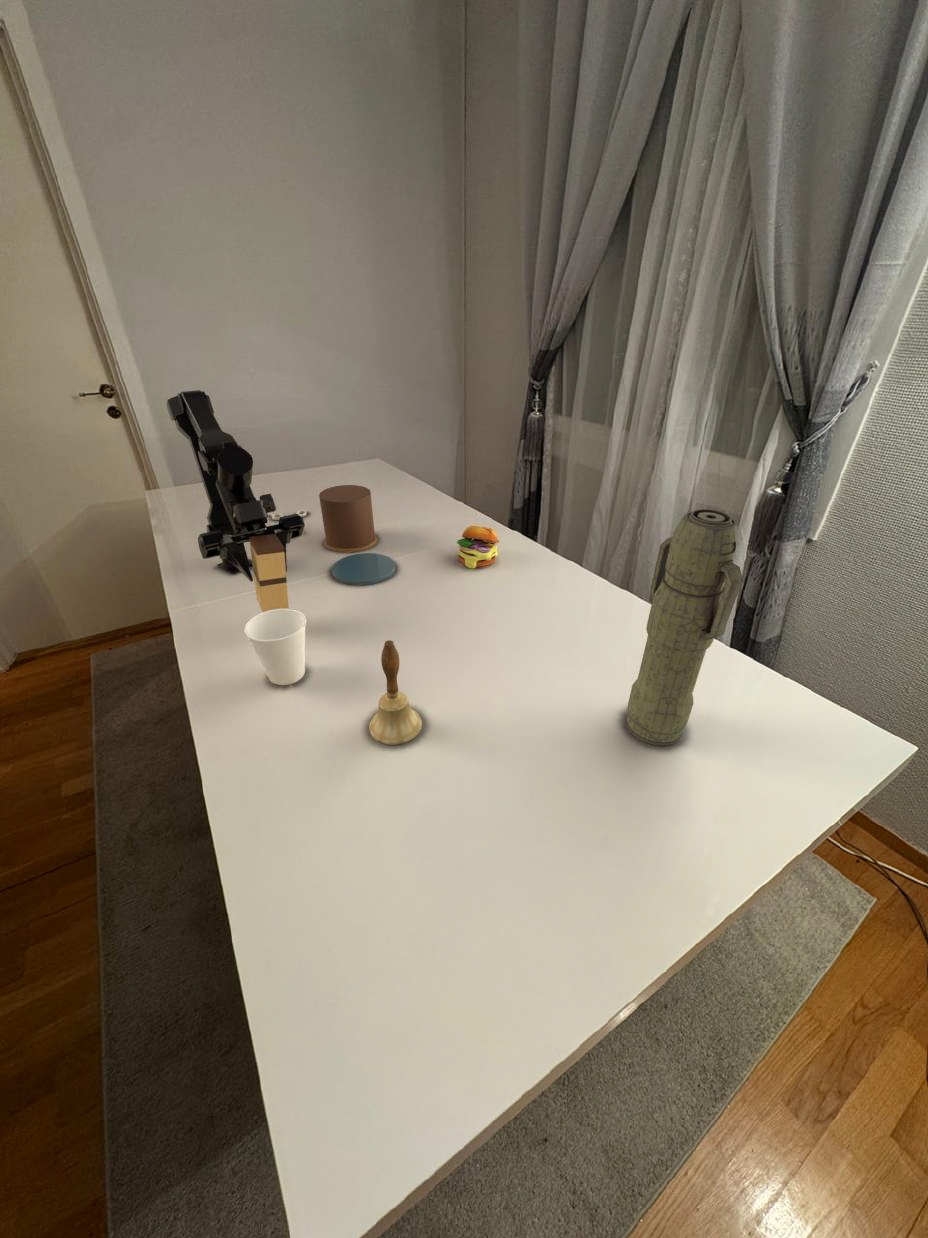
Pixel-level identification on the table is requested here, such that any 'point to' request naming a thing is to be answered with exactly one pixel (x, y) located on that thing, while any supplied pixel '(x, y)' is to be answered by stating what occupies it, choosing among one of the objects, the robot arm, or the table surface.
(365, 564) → the plate
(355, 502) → the cake
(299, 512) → the scissors
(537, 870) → the table surface
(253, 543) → the cake slice
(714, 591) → the thermos
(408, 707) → the hand bell
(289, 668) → the cup
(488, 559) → the cheeseburger
